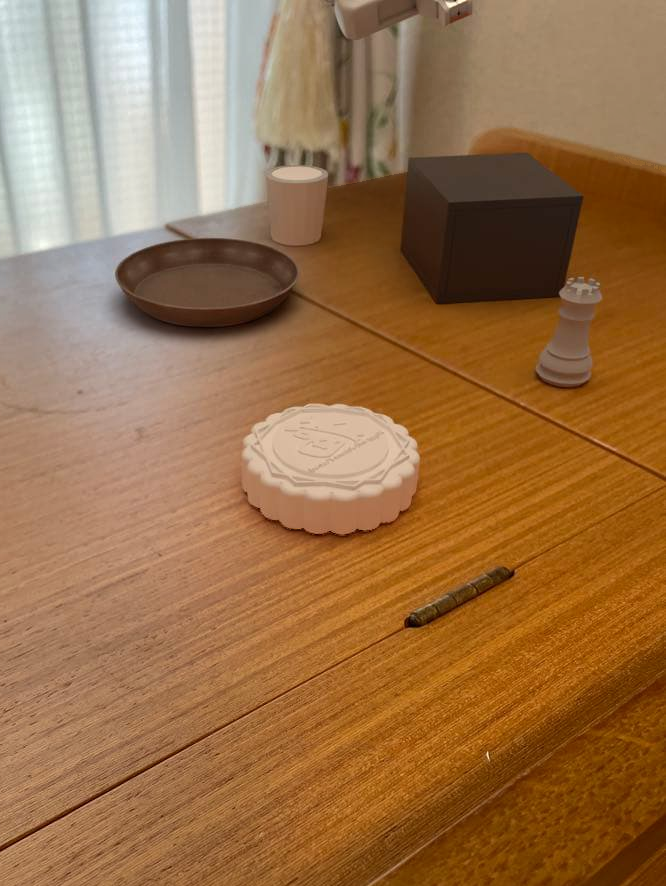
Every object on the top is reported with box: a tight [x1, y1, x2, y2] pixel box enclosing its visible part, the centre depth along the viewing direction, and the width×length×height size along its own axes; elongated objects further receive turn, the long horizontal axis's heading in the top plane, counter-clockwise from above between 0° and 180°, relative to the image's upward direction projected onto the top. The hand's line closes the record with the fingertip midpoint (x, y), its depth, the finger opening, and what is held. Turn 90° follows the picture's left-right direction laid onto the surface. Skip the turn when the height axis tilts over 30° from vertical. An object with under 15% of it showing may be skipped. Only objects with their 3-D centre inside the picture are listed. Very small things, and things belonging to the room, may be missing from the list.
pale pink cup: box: [265, 164, 329, 247], centre depth 97 cm, size 7×7×7 cm
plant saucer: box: [114, 237, 301, 328], centre depth 84 cm, size 18×18×3 cm
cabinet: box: [399, 152, 585, 305], centre depth 87 cm, size 15×13×10 cm
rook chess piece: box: [535, 276, 604, 388], centre depth 70 cm, size 4×4×8 cm
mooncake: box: [240, 403, 421, 534], centre depth 59 cm, size 12×12×4 cm
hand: (458, 13), depth 86 cm, fingers closed
